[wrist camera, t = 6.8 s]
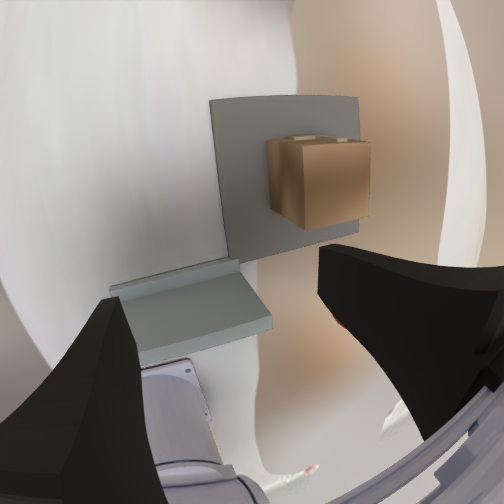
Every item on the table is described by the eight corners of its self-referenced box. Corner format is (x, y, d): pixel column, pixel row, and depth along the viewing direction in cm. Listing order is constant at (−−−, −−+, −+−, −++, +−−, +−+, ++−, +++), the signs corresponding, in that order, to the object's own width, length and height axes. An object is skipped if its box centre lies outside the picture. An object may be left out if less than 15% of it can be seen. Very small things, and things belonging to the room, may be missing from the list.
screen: (240, 291, 22) (273, 341, 17) (123, 321, 20) (125, 382, 14) (235, 255, 21) (270, 300, 16) (110, 286, 18) (105, 344, 13)
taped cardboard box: (327, 197, 21) (368, 216, 17) (270, 208, 20) (305, 231, 16) (325, 132, 19) (370, 138, 15) (265, 137, 18) (302, 142, 14)
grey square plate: (355, 230, 24) (358, 232, 24) (229, 263, 21) (231, 265, 20) (354, 97, 19) (358, 97, 19) (209, 100, 16) (210, 100, 16)
